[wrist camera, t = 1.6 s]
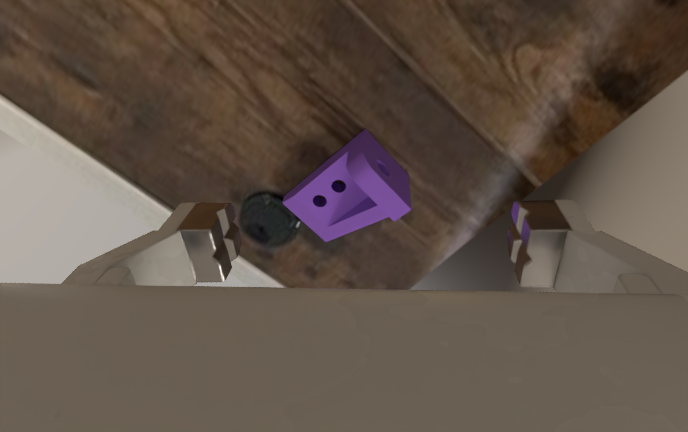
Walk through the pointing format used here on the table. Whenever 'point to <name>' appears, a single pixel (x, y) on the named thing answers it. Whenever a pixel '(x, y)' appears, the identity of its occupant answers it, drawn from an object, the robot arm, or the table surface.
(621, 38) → the table surface
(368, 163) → the bracket
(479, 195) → the table surface
